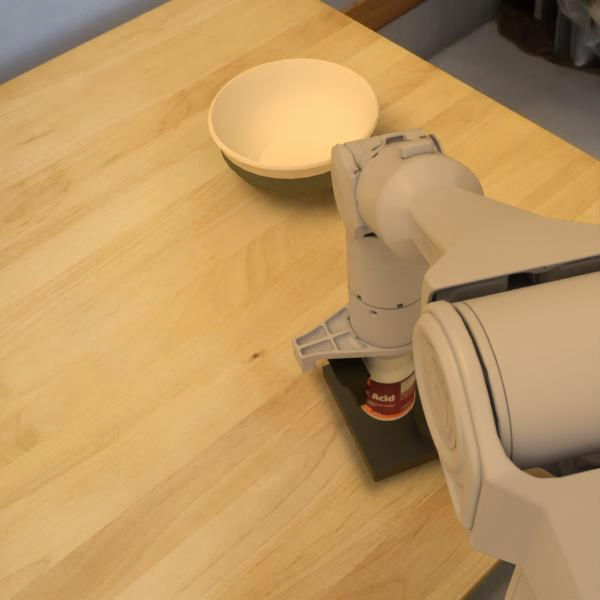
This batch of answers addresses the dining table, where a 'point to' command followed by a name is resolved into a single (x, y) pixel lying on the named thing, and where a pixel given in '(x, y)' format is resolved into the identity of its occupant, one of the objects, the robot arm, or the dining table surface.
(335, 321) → the robot arm
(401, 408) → the pill bottle
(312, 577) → the dining table surface
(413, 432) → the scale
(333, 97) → the bowl
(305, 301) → the dining table surface
